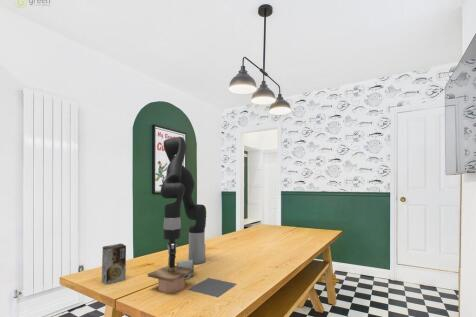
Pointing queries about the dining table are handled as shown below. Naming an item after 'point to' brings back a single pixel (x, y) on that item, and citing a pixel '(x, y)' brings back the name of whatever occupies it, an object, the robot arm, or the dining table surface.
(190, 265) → the ceramic mug
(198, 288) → the mat
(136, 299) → the dining table surface
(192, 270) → the lid
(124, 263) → the coffee box
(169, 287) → the bowl
